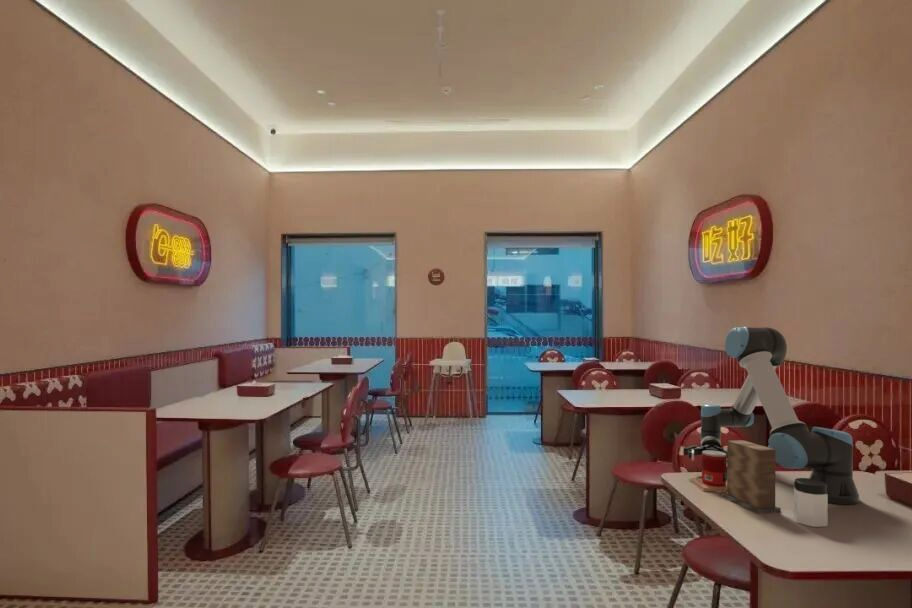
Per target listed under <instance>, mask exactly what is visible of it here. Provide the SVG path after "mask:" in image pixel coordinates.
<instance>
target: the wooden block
mask: <svg viewBox="0 0 912 608" xmlns="http://www.w3.org/2000/svg"><path fill="white" fill-rule="evenodd" d="M726 441H727V443H726V444H727V445H726V447H727V448H726V450H727V468H726V481H727V492H725V493H722V498H723V497H724V499H725V498H726V499H725V500H727V499H728V501H730V502H732V503H734V502H735V503H734V504H736V503H737V505H739V506H741V507H743V508H746V509H748V510H750V511H753V512H755V513H757V514H759V513H760V514H772V513H781V507H779V506H777V505H776V462H775V449H772V448H768V446H764V445H761V444H757V443H754V442H750V441H747V440H744V439H738V440H736V439H733V440H726Z"/></svg>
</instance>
